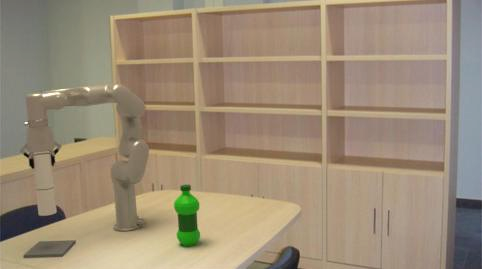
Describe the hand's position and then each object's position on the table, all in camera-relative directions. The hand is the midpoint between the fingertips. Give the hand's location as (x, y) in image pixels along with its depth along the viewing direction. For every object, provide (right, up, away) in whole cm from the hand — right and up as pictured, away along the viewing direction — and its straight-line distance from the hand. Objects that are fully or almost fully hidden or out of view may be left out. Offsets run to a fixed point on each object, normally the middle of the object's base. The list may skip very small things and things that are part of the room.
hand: (42, 166), depth 218 cm
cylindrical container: (+1, -20, +3) cm, 20 cm away
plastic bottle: (+59, -33, +5) cm, 68 cm away
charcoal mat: (+1, -35, +5) cm, 36 cm away
